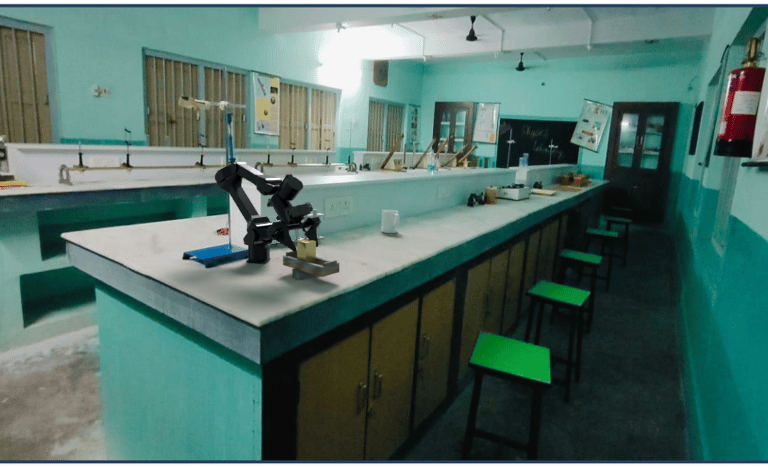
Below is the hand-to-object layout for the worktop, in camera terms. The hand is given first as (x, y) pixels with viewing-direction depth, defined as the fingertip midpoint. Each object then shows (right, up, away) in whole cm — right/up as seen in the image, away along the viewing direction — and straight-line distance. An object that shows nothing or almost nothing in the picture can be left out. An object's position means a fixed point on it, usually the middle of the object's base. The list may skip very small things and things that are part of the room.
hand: (306, 248), depth 141 cm
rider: (0, -4, +1) cm, 5 cm away
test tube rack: (-13, +1, +51) cm, 52 cm away
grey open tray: (+1, -9, +1) cm, 9 cm away
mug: (+28, +5, +77) cm, 82 cm away
